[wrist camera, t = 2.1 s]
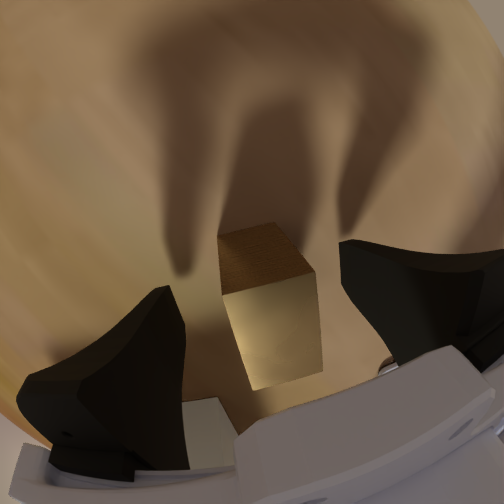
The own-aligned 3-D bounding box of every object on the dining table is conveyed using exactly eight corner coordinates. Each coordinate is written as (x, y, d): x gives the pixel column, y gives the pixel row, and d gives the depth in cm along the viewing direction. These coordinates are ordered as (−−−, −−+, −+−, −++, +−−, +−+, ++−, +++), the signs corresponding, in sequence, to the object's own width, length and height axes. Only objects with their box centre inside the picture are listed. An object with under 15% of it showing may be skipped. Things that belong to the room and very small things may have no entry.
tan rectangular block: (274, 222, 12) (315, 271, 7) (287, 299, 13) (323, 370, 9) (216, 235, 12) (221, 295, 7) (237, 312, 13) (253, 390, 8)
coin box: (217, 396, 15) (225, 480, 10) (258, 468, 21) (268, 517, 15) (71, 407, 14) (52, 469, 9) (150, 477, 20) (149, 521, 14)
